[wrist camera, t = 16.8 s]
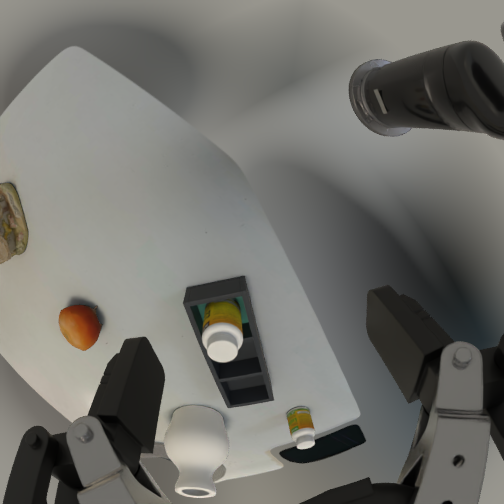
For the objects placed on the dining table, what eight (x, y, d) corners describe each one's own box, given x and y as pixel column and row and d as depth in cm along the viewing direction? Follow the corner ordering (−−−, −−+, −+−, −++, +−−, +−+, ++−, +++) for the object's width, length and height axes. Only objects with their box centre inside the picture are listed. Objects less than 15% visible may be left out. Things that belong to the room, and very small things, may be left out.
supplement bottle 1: (206, 290, 42) (202, 333, 33) (243, 295, 43) (247, 337, 33) (203, 320, 44) (199, 364, 35) (237, 324, 45) (240, 368, 35)
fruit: (118, 336, 43) (87, 363, 37) (96, 325, 47) (67, 348, 41) (101, 297, 40) (64, 323, 34) (79, 289, 44) (47, 311, 37)
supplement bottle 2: (291, 405, 56) (299, 440, 47) (312, 406, 57) (322, 438, 48) (283, 418, 58) (290, 451, 49) (303, 418, 59) (312, 450, 50)
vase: (241, 416, 56) (247, 492, 38) (206, 438, 60) (206, 504, 41) (187, 394, 52) (181, 477, 34) (157, 418, 55) (147, 489, 37)
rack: (244, 275, 42) (246, 290, 38) (271, 384, 52) (274, 400, 48) (186, 287, 42) (183, 303, 38) (227, 391, 52) (227, 408, 48)
